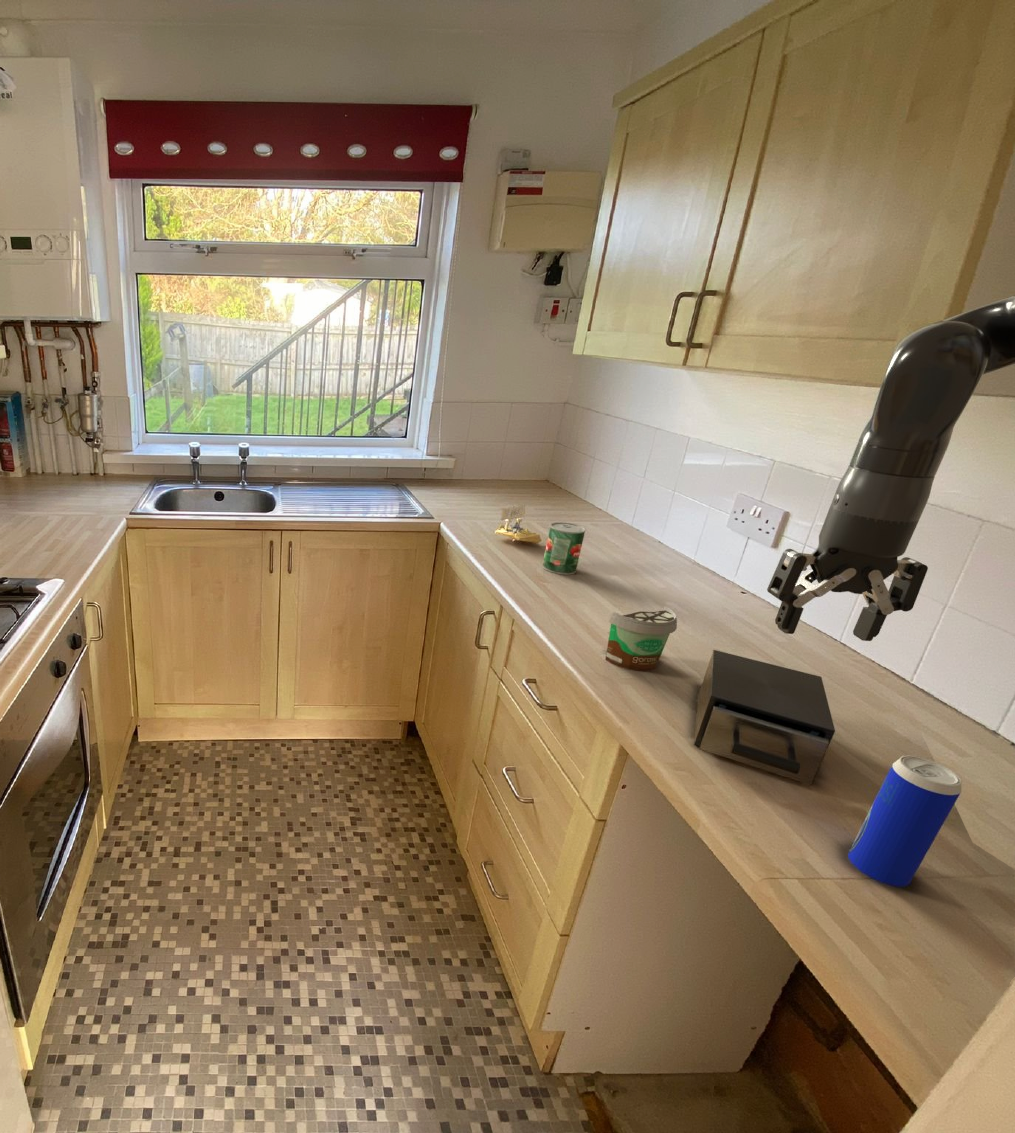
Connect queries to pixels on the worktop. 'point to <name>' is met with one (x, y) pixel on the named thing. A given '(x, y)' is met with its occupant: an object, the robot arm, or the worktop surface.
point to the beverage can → (904, 820)
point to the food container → (639, 638)
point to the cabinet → (763, 694)
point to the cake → (516, 525)
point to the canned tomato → (563, 548)
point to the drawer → (764, 742)
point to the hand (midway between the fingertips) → (822, 634)
